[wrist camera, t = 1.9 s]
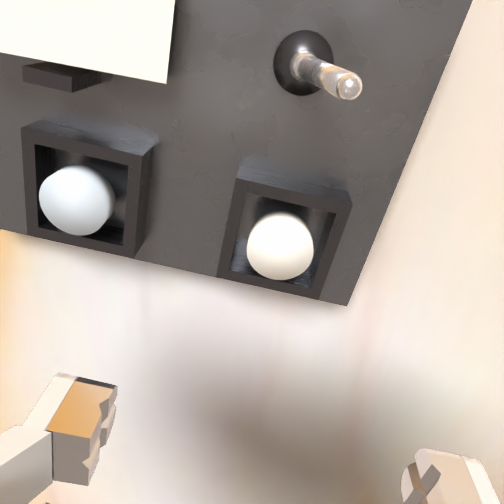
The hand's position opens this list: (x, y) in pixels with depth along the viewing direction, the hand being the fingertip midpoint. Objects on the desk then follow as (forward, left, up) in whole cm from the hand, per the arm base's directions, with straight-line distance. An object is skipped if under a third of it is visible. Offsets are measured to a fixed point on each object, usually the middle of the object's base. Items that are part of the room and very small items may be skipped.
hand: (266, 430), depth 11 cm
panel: (+6, -4, -16) cm, 17 cm away
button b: (+10, 0, -11) cm, 15 cm away
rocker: (+11, -8, -12) cm, 18 cm away
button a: (0, 0, -11) cm, 11 cm away
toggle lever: (+1, -8, -12) cm, 14 cm away
